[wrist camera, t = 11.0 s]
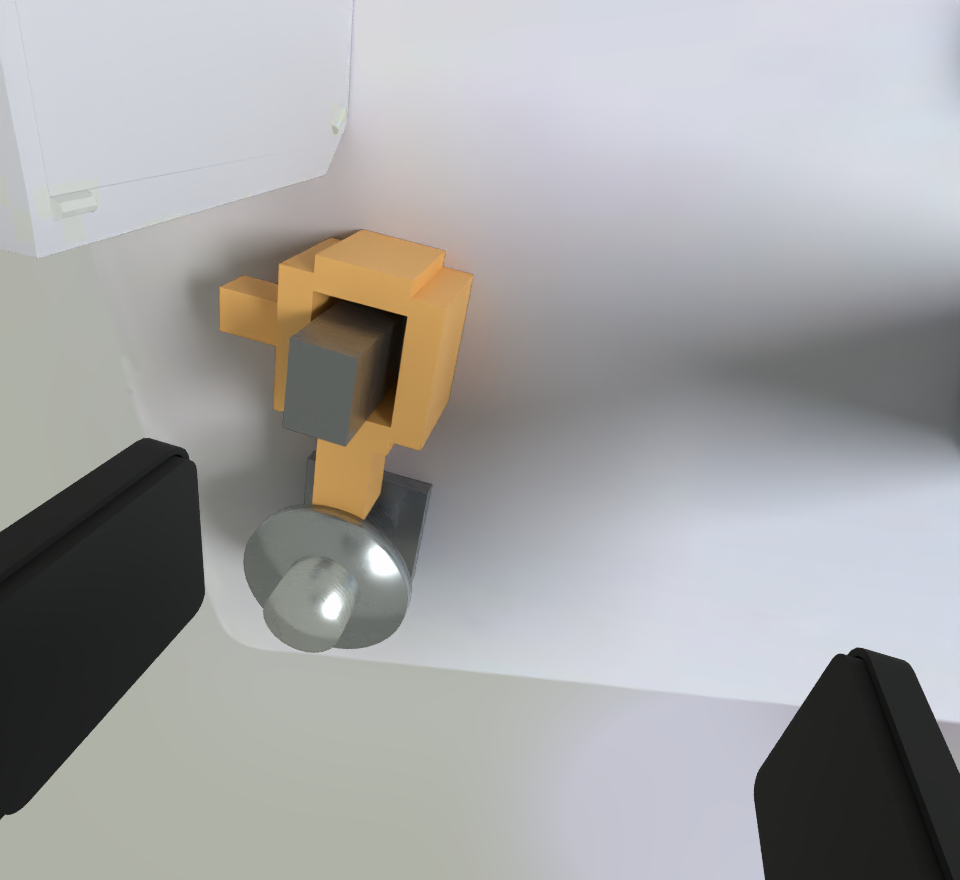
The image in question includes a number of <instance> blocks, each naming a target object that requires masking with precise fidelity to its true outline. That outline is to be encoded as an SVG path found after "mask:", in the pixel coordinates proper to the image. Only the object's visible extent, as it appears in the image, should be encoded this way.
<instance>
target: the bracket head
mask: <svg viewBox="0 0 960 880" xmlns="http://www.w3.org/2000/svg"><path fill="white" fill-rule="evenodd" d="M445 252H446V251H444V250H440V249H437V248H433V247H429V246H425V245H421V244H417V243H413V242H410V241H406V240H402V239H398V238H394V237H390V236H386V235H383V234H379V233H375V232H371V231H367V230H363V229H362V230H360V231H359V232H357V233H355V234H353V235H351V236H349V237H347V238H345V239H344V240H339V239H335V238H329V239H327V240H325V241H323V242H321V243H319V244H317V245H315V246H313V247H311V248H309V249H307V250H305V251H303V252H301V253H299V254H297V255H295V256H293V257H291V258H290V259H288V260H286V261H284V262H282V263H280V264H279V276H278V284H275V283H272V282H268V281H264V280H261V279H257V278H253V277H249V276H246V275H243V276H241V277H239V278H237V279H235V280H233V281H231V282H229V283H227V284H225V285H222V286H220V331H223V332H226V333H230V334H234V335H237V336H241V337H244V338H248V339H252V340H255V341H259V342H263V343H266V344H270V345H273V346H276V354H275V380H274V406H273V409H274V410H278V411H281V412H284V402H285V390H286V377H287V365H288V353H289V340H290V337H292V336H293V335H294V334H296V333H297V332H298V331H300V330H301V329H302V328H304V327H305V326H306V325H308V324H309V323H310V322H312V321H313V320H314V319H316V318H317V317H318V316H320V315H321V314H322V313H324V312H325V311H327V310H328V309H329V308H331V307H332V306H333V305H335V304H336V303H337V302H339V301H340V300H341V299H344V300H348V301H352V302H356V303H359V304H363V305H367V306H371V307H374V308H378V309H382V310H385V311H389V312H393V313H397V314H400V315H404V316H408V317H407V323H406V330H405V337H404V344H403V350H402V357H401V364H400V370H399V377H398V380H397V382H396V383H395V384H394V386H393V387H392V388H391V389H390V391H389V392H388V393H387V395H386V396H385V397H384V398H383V400H382V401H381V402H380V403H379V405H378V406H377V407H376V409H375V410H374V411H373V412H372V414H371V415H370V416H369V418H368V419H367V420H366V421H365V423H364V424H363V425H362V427H361V428H360V429H359V430H358V432H357V433H356V434H355V435H354V437H353V438H352V439H351V441H350V442H349V443H348V444H347V446H346V447H344V446H341V445H337V444H334V443H331V442H328V441H325V440H321V439H318V438H317V451H316V463H315V475H314V488H313V500H312V504H316V505H324V506H330V507H334V508H338V509H341V510H344V511H347V512H349V513H351V514H354V515H356V516H358V517H360V518H362V519H363V520H365V518H366V516H367V515H368V513H369V511H370V510H371V508H372V507H373V505H374V503H375V502H376V500H377V498H378V497H379V495H380V492H381V486H382V479H383V472H384V465H385V459H386V456H387V455H388V453H389V451H390V450H391V448H392V447H393V445H394V444H398V445H402V446H405V447H409V448H412V449H416V450H419V451H421V449H422V447H423V446H424V444H425V442H426V440H427V439H428V437H429V435H430V433H431V432H432V430H433V428H434V426H435V424H436V423H437V421H438V419H439V417H440V416H441V414H442V412H443V410H444V409H445V407H446V405H447V403H448V402H449V397H450V392H451V387H452V382H453V377H454V372H455V367H456V362H457V356H458V351H459V346H460V341H461V336H462V331H463V326H464V321H465V316H466V311H467V306H468V301H469V296H470V291H471V286H472V281H473V276H474V275H473V274H469V273H465V272H461V271H458V270H454V269H450V268H446V267H443V264H444V258H445Z"/></svg>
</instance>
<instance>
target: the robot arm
mask: <svg viewBox="0 0 960 880" xmlns="http://www.w3.org/2000/svg"><path fill="white" fill-rule="evenodd" d="M204 595H205V584H204V569H203V554H202V539H201V525H200V510H199V495H198V480H197V469H196V465H195V463H194V462H193V461H191V460H189V455H188V453H187V452H186V450H185V449H183V448H181V447H178V446H174V445H171V444H168V443H164V442H161V441H157V440H154V439H151V438H143V439H141V440H139V441H137V442H135V443H134V444H132V445H131V446H129V447H128V448H126V449H125V450H123V451H122V452H120V453H119V454H117V455H116V456H114V457H113V458H111V459H110V460H108V461H107V462H105V463H104V464H102V465H101V466H99V467H98V468H96V469H95V470H93V471H91V472H90V473H89V474H87V475H85V476H84V477H83V478H81V479H79V480H78V481H77V482H75V483H73V484H72V485H70V486H69V487H68V488H66V489H65V490H63V491H61V492H60V493H58V494H57V495H55V496H54V497H52V498H51V499H49V500H48V501H46V502H45V503H43V504H42V505H40V506H39V507H37V508H36V509H34V510H33V511H31V512H30V513H28V514H27V515H25V516H24V517H22V518H21V519H19V520H18V521H17V522H15V523H13V524H12V525H10V526H9V527H8V528H6V529H4V530H3V531H1V532H0V819H1V818H2V817H3V816H4V815H5V814H6V815H11V814H13V813H16V812H17V811H19V810H20V809H21V808H23V807H24V806H25V805H26V804H27V803H28V802H29V801H30V800H31V799H32V797H33V796H34V795H35V794H36V793H37V792H38V791H39V790H40V789H41V787H42V786H43V785H44V784H45V783H46V782H47V781H48V780H49V779H50V777H51V776H52V775H53V774H54V773H55V771H57V769H58V768H59V767H60V766H61V765H62V764H63V763H64V762H65V760H66V759H67V758H68V757H69V756H70V755H71V754H72V753H73V752H74V750H75V749H76V748H77V747H78V746H79V745H80V744H81V743H82V741H83V740H84V739H85V738H86V737H87V736H88V735H89V733H90V732H91V731H92V730H93V729H94V728H95V727H96V726H97V725H98V723H99V722H100V721H101V720H102V719H103V718H104V717H105V716H106V714H107V713H108V712H109V711H110V710H111V709H112V708H113V707H114V705H115V704H116V703H117V702H118V701H119V700H120V699H121V698H122V697H123V695H124V694H125V693H126V692H127V691H128V689H130V688H131V686H132V685H133V684H134V683H135V682H136V681H137V680H138V678H139V677H140V676H141V675H142V674H143V673H144V672H145V671H146V670H147V668H148V667H149V666H150V665H151V664H152V663H153V662H154V661H155V659H156V658H157V657H158V656H159V655H160V654H161V653H162V652H163V650H164V649H165V648H166V647H167V646H168V645H169V644H170V642H171V641H172V640H173V639H174V638H175V637H176V636H177V635H178V633H179V632H180V631H181V630H182V629H183V628H184V626H186V625H187V623H188V622H189V621H190V620H191V619H192V618H193V617H194V616H195V614H196V613H197V612H198V610H199V608H200V606H201V604H202V602H203V599H204ZM754 801H755V809H756V816H757V824H758V831H759V838H760V846H761V853H762V860H763V867H764V875H765V880H960V773H959V771H958V769H957V767H956V764H955V762H954V760H953V758H952V755H951V753H950V751H949V749H948V746H947V744H946V742H945V740H944V737H943V735H942V733H941V731H940V728H939V726H938V724H937V722H936V719H935V717H934V715H933V713H932V710H931V708H930V706H929V704H928V701H927V699H926V697H925V695H924V692H923V690H922V688H921V686H920V683H919V681H918V679H917V677H916V674H915V672H914V670H913V669H912V667H911V666H910V664H909V663H907V662H906V661H904V660H901V659H898V658H894V657H891V656H887V655H884V654H881V653H877V652H874V651H870V650H867V649H864V648H855V649H853V650H851V651H850V652H849V654H848V655H845V654H837V655H836V656H835V657H834V658H833V659H832V660H831V662H830V663H829V665H828V666H827V668H826V669H825V671H824V672H823V674H822V675H821V677H820V678H819V680H818V681H817V683H816V684H815V686H814V687H813V689H812V690H811V692H810V693H809V695H808V697H807V698H806V700H805V701H804V703H803V704H802V706H801V707H800V709H799V710H798V712H797V713H796V715H795V716H794V718H793V719H792V721H791V722H790V724H789V725H788V727H787V728H786V730H785V731H784V733H783V735H782V736H781V737H780V739H779V740H778V742H777V743H776V745H775V747H774V748H773V750H772V751H771V753H770V754H769V756H768V757H767V759H766V760H765V762H764V763H763V765H762V766H761V768H760V769H759V771H758V773H757V776H756V780H755V785H754Z"/></svg>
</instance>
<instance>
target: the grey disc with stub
mask: <svg viewBox="0 0 960 880" xmlns="http://www.w3.org/2000/svg"><path fill="white" fill-rule="evenodd" d="M315 463H316V452H315V451H314V452H313V453H312V454H311V455H310V457H309V458H308V459H307V472H306V486H305V500H304V505H295V506H291V507H287V508H284V509H282V510H279V511H277V512H276V513H274V514H272V515H271V516H269V517H268V518H267V519H266V520H265V521H264V522H263V523H262V524H261V525H260V527H259V528H258V529H257V530H256V531H255V533H254V534H253V535H252V537H251V538H250V540H249V542H248V544H247V546H246V549H245V553H244V571H245V576H246V580H247V582H248V585H249V587H250V589H251V591H252V593H253V595H254V597H255V598H256V600H257V601H258V603H259V604H260V605H261V606H262V608H263V609H264V610H263V614H264V619H265V622H266V624H267V626H268V628H269V629H270V631H271V632H272V633H273V634H274V635H275V636H276V637H277V638H278V639H279V640H281V641H282V642H283V643H285V644H287V645H288V646H290V647H292V648H295V649H297V650H301V651H305V652H313V653H315V652H323V651H326V650H329V649H331V648H332V647H334V648H342V649H356V648H363V647H368V646H372V645H375V644H377V643H380V642H382V641H384V640H385V639H387V638H388V637H390V636H391V635H392V634H393V633H394V632H395V631H396V630H397V628H398V627H399V626H400V624H401V622H402V620H403V618H404V616H405V614H406V611H407V609H408V607H409V603H410V600H411V593H412V586H411V582H412V580H413V577H414V574H415V569H416V563H417V558H418V553H419V548H420V543H421V538H422V533H423V528H424V523H425V518H426V513H427V508H428V503H429V498H430V493H431V488H432V485H430V484H427V483H423V482H420V481H416V480H413V479H409V478H406V477H402V476H399V475H395V474H392V473H388V472H385V471H384V472H383V479H382V486H381V492H380V495H379V497H378V498H377V500H376V502H375V503H374V505H373V507H372V508H371V510H370V511H369V513H368V515H367V516H366V518H365V520H363V519H362V518H360V517H358V516H356V515H354V514H351V513H349V512H347V511H344V510H341V509H338V508H334V507H330V506H324V505H316V504H312V500H313V488H314V475H315Z"/></svg>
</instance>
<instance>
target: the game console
mask: <svg viewBox="0 0 960 880" xmlns="http://www.w3.org/2000/svg"><path fill="white" fill-rule="evenodd" d="M352 15H353V0H0V250H4V251H8V252H13V253H17V254H21V255H25V256H29V257H33V258H36V259H38V258H42V257H45V256H48V255H52V254H55V253H59V252H62V251H65V250H69V249H73V248H76V247H79V246H83V245H86V244H90V243H93V242H97V241H100V240H104V239H107V238H110V237H114V236H117V235H121V234H124V233H128V232H131V231H134V230H138V229H141V228H145V227H148V226H152V225H155V224H159V223H162V222H165V221H169V220H172V219H176V218H179V217H183V216H186V215H189V214H193V213H196V212H200V211H203V210H207V209H210V208H213V207H217V206H220V205H224V204H227V203H231V202H234V201H238V200H241V199H244V198H248V197H251V196H255V195H258V194H262V193H265V192H268V191H272V190H275V189H279V188H282V187H286V186H289V185H293V184H296V183H299V182H303V181H306V180H310V179H313V178H317V177H320V176H323V175H326V174H327V171H328V169H329V166H330V164H331V162H332V159H333V157H334V154H335V152H336V149H337V147H338V144H339V142H340V139H341V137H342V135H343V132H344V130H345V127H346V125H347V118H348V97H349V77H350V56H351V36H352Z"/></svg>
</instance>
